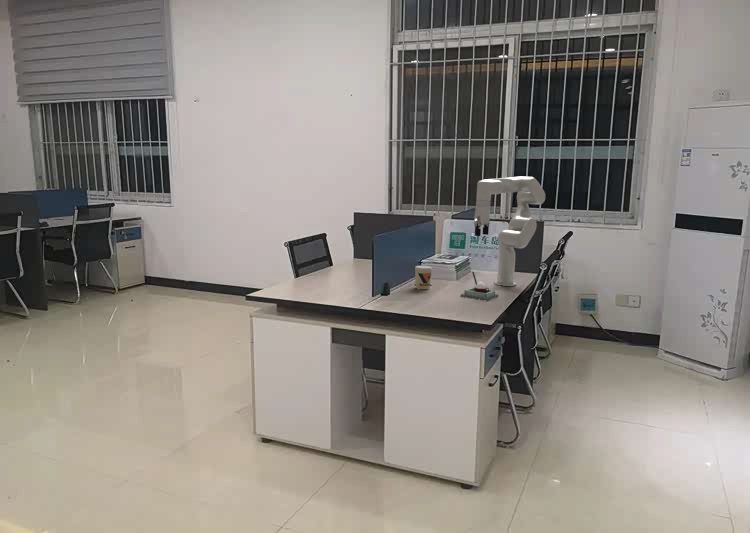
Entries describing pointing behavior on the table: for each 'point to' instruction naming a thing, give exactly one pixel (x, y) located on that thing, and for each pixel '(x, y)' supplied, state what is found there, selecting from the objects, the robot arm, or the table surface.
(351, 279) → the table surface
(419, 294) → the table surface
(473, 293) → the holder board
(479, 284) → the cocoa
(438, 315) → the table surface
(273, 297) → the table surface
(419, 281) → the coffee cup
